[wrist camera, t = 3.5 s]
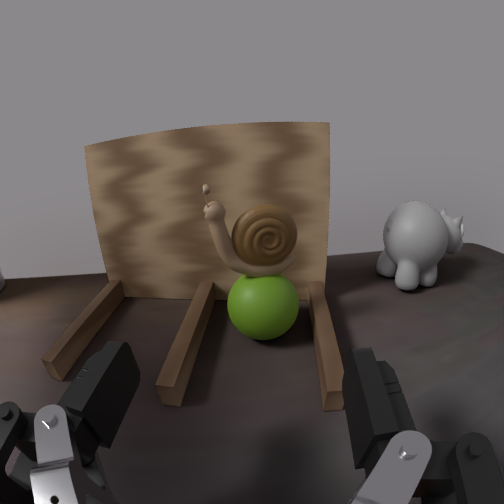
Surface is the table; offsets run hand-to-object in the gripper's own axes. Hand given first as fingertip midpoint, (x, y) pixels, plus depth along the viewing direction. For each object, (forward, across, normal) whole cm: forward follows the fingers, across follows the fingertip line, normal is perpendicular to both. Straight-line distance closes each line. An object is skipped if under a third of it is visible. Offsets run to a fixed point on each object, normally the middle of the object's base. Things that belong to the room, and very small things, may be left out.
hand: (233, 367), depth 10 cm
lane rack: (+10, +5, +7) cm, 13 cm away
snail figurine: (+11, 0, +8) cm, 14 cm away
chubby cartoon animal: (+20, -19, +8) cm, 29 cm away
